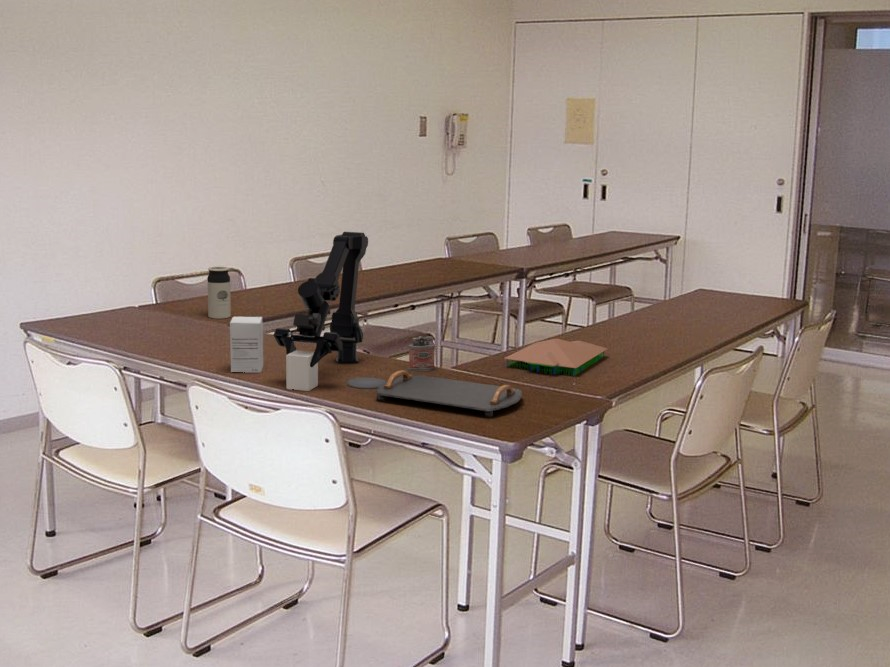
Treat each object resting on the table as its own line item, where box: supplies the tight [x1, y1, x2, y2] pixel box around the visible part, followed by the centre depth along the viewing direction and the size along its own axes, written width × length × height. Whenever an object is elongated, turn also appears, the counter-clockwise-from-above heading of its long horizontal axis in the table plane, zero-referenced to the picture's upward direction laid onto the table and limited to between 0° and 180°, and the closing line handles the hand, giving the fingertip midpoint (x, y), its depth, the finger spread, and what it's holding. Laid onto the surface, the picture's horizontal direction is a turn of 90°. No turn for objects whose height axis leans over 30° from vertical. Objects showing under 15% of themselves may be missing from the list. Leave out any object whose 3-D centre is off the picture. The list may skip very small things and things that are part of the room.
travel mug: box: [206, 266, 232, 320], centre depth 383 cm, size 8×8×18 cm
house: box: [503, 338, 609, 377], centre depth 325 cm, size 23×33×8 cm
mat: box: [346, 377, 387, 390], centre depth 296 cm, size 11×11×1 cm
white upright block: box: [285, 349, 319, 392], centre depth 290 cm, size 6×6×10 cm
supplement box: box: [229, 316, 264, 374], centre depth 308 cm, size 9×9×15 cm
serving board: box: [375, 370, 523, 418], centre depth 282 cm, size 39×23×6 cm, turn 65°
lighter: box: [408, 335, 436, 372], centre depth 313 cm, size 8×3×10 cm, turn 106°
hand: (299, 365), depth 288 cm, fingers closed on white upright block, 6 cm apart
